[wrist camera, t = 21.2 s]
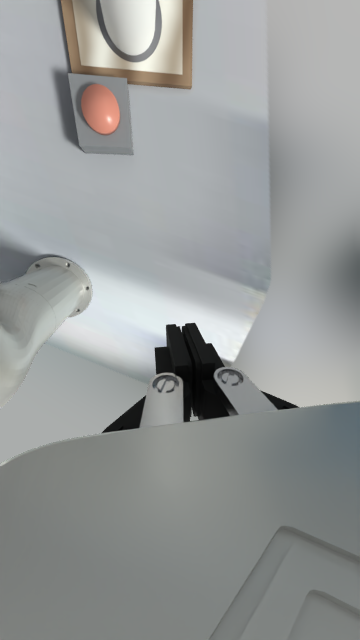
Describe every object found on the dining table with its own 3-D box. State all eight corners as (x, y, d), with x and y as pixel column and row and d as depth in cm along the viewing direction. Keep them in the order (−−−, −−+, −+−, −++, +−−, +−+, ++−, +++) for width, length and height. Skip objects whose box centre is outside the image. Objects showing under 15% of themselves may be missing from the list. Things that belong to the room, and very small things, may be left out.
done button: (90, 140, 34) (84, 131, 30) (84, 97, 32) (77, 82, 28) (123, 142, 34) (121, 133, 31) (119, 99, 32) (116, 85, 29)
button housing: (85, 153, 35) (79, 145, 32) (75, 88, 32) (67, 73, 29) (133, 155, 36) (132, 148, 33) (128, 92, 33) (126, 78, 30)
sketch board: (74, 79, 31) (72, 75, 31) (52, -63, 26) (49, -74, 25) (190, 89, 34) (191, 85, 33) (192, -40, 29) (193, -49, 28)
